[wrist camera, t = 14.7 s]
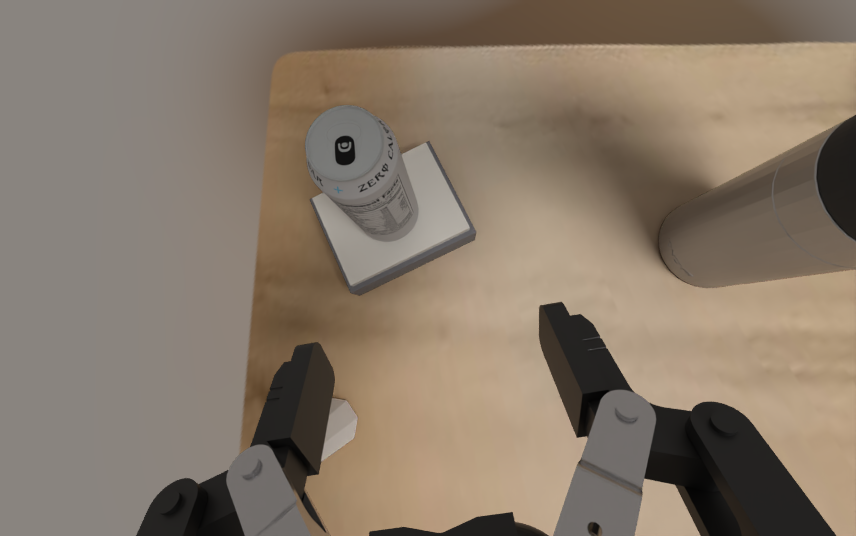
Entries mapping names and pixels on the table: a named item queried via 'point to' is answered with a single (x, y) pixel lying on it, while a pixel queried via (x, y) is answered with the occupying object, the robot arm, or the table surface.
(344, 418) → the pepper shaker
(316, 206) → the podium
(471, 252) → the table surface
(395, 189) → the energy drink can
